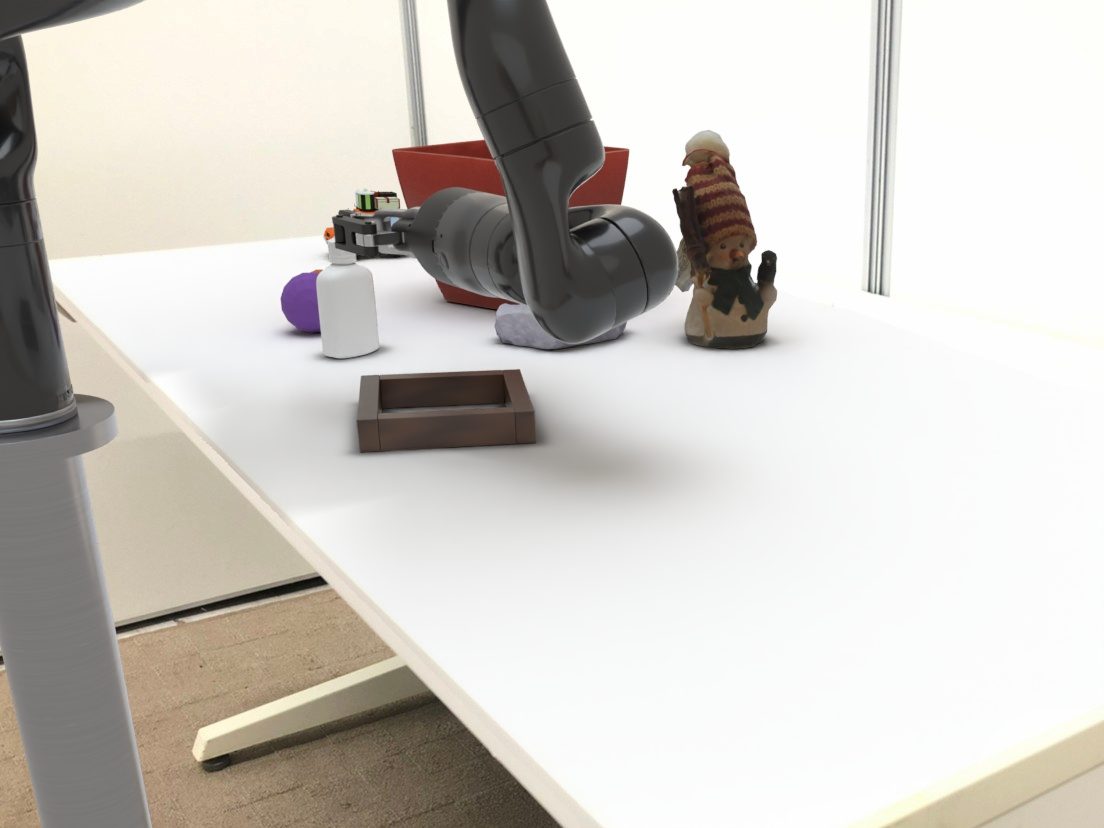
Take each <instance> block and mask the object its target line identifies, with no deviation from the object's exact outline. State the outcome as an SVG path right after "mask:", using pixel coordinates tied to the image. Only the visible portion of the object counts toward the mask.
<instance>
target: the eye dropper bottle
mask: <svg viewBox="0 0 1104 828" xmlns="http://www.w3.org/2000/svg"><path fill="white" fill-rule="evenodd" d="M327 249H328V260H329V263H330V265H328V266H327V267H325V268H324V269H322V270H323V271H322V272H320V273H319V275H318V276H317V279H316V287H317V299H318V309H319V319H320V328H321V332H320V337H321V345H322V353H323V355H324V356H326V357H328V358H335V359H341V360H342V359H351V358H355V357H361V356H365V355H369V354H371V353H373V352H375V351H377V350H378V349H379V347H380V337H379V326H378V316H377V315H378V314H377V305H376V292H375V284H374V277H373V272H372V271H371V270H370V269H369V268H368V267H367V266H365V265H361V264H358V263H357V257H356V254H354V253H351V252H347V251H344V250H340V249H336V248H335V236H334V237H333V238H332V239H330V240H328V245H327Z"/></svg>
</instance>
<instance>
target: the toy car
mask: <svg viewBox="0 0 1104 828" xmlns="http://www.w3.org/2000/svg"><path fill="white" fill-rule="evenodd" d="M354 194H355V203H353V204H354V205H353V206H354V208H353V210H352V211H355V212H361V213H363V214H374V213H375V212H376V211H377V210H381V209H385V208H390V209H401V199H400V198H398V194H397V192H394V191H379V190H378V191H375V190H368V189H367V188H363V190H361V189H358V188H356V190H355V193H354ZM346 210H350V208H349V207H348V208H346ZM399 219H400V218H397V217H391V226H392V225H393V224H394V223H395V222H396V221H398V220H399ZM333 237H334V227H332V226H331V227H325V230H324V233H323V236H322V238H323V239H324V242H325V243H326V245H327V246H328V240H330V239H332V238H333ZM386 255H387V256H389V257H390V258H394V259H396V258H400V257H401V256H402V255H401V254H386ZM358 256H359V255H358V254H356V258H358Z"/></svg>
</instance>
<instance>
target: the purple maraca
mask: <svg viewBox="0 0 1104 828" xmlns="http://www.w3.org/2000/svg"><path fill="white" fill-rule="evenodd" d="M323 270H324V269H314V270H313V271H310V272H301V273H299V274H297V275H295V276H293V277H291V279H289V281H288V282H287V283H286V284H285V285H284V286H283V289H282V293H281V295H280V298H279V299H280V306H281V307H280V308H281V311H282V314H283V315H284V317H285V319H286V320H287V321H288V323H290V324H291V325H292V326H294V327H295V328H296V329H297V330H300V331H304V332H307V333H321V328H320V319H319V309H318V299H317V287H316V279H317V276H318V275H319V273H320V272H322V271H323Z"/></svg>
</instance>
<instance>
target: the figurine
mask: <svg viewBox="0 0 1104 828" xmlns="http://www.w3.org/2000/svg"><path fill="white" fill-rule="evenodd" d="M684 146H685V148H684V150H685V157H684V158H683V160H682V163H681V167H686V166H688V167H690V168H689V169H688V171H687V173H686V177H685V178H684V180H683V181H684V182H685V185H684V186H681V188H680V189H678V188H677V187H675V188H673V189H672V191H671V192H672V196H673V201H674V203H675V209H676V214H677V217H678V219H679V229H680V233H681V235H682V237H681V240H680V241H679V244H678V248H677V249H676V252H677V256H678V263H679V266H678V277H677V281H676V283H675V286H676V287H677V288H678V289H679V291H681V293H685V292H689V291H690V288H692V286H693V288H692V289H693V290H692V298H691V301H690V303H689V307H688V309H687V312H686V316H685V322H684V334H685V336H686V338H687V340H688V342H689V343H690V344H692V345H696V346H700V347H706V348H713V349H714V348H715V349H717V348H718V349H727V350H739V349H748V348H751V347H755V346H756V345H758V344H761V342H763V340H764V338H765V336H766V334H767V333H768V322H769V320H768V318H769V312H770V309H771V307H773V306H774V304H775V303H776V302H777V299H778V298H777V297H778V289H777V288H776V286H775V285H774V284H775V278H776V276H777V275H776V274H777V261H778V256H777V253H776V252H774V251H773V250H770V249H767V250H764V251H763V252H761V254H760V255H761V259H760V260H761V262H760V263H759V265H758V268H757V273H756V282H754V279H753V277H752V275H751V273H752V269H753V265H752V264H751V263H750V260H749V255H750V254H751V253H752V252H753V251H754V250H755V249H756V246H758V239H757V233H756V231H755V227H754V224H753V220H752V216H751V213H750V210H749V207H748V203H747V199H746V196H745V195H744V194H743V193H742V191H741V189H740V185H739V183H738V181H737V174H736V171H735V167H734V166H733V165H732V164H731V163H730V162H731V161H730V156H731V153H730V150H729V147H728V146H727V144H726V142H725V141H724V140H723V138H722V136H721V135H720V134H719V133H718V132H715V131H713V130H712V129H711V130H710V129H705V130H700V131H698V132H697V133H696V134H694V135H693V136H692V137H690V138H689V140H688V141H687V142H686V143H685V145H684Z"/></svg>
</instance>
